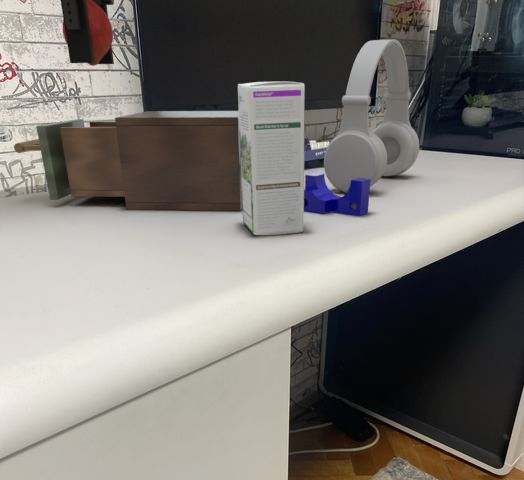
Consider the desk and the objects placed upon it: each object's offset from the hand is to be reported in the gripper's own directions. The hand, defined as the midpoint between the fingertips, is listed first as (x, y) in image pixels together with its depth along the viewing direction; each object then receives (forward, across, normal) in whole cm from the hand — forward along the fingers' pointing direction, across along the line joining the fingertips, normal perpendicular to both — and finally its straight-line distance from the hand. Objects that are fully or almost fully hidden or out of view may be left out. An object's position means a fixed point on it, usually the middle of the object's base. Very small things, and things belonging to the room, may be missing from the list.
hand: (93, 63), depth 67 cm
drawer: (+16, 0, +2) cm, 16 cm away
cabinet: (+17, 0, -12) cm, 20 cm away
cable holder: (+17, -6, -30) cm, 35 cm away
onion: (0, 0, 0) cm, 0 cm away
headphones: (+17, +14, -37) cm, 43 cm away
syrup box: (+17, -15, -24) cm, 33 cm away
